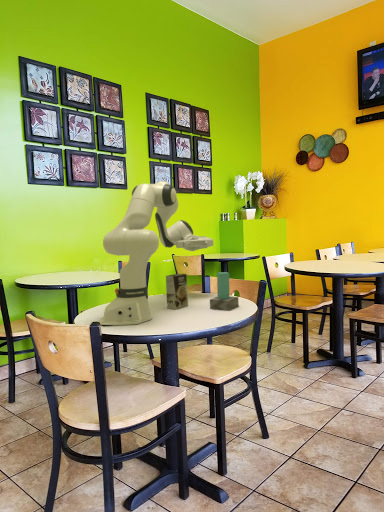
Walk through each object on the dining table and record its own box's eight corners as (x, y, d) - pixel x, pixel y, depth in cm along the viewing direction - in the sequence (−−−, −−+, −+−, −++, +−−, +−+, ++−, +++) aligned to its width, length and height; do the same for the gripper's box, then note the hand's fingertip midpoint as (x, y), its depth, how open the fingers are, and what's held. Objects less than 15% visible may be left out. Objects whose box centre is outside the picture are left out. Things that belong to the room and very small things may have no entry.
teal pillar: (220, 299, 184) (219, 273, 183) (217, 297, 188) (217, 272, 188) (229, 298, 185) (229, 273, 184) (226, 297, 189) (226, 272, 189)
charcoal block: (210, 310, 186) (209, 299, 185) (220, 305, 194) (219, 295, 194) (229, 311, 180) (229, 300, 180) (238, 307, 189) (238, 296, 188)
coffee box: (177, 309, 189) (175, 276, 188) (166, 308, 193) (164, 275, 192) (188, 306, 196) (187, 273, 195) (178, 305, 200) (176, 273, 199)
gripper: (172, 238, 217) (177, 238, 203) (209, 236, 221) (215, 236, 208) (173, 249, 217) (178, 251, 204) (209, 247, 222) (216, 248, 208)
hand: (197, 243), depth 206 cm, fingers open, 8 cm apart
